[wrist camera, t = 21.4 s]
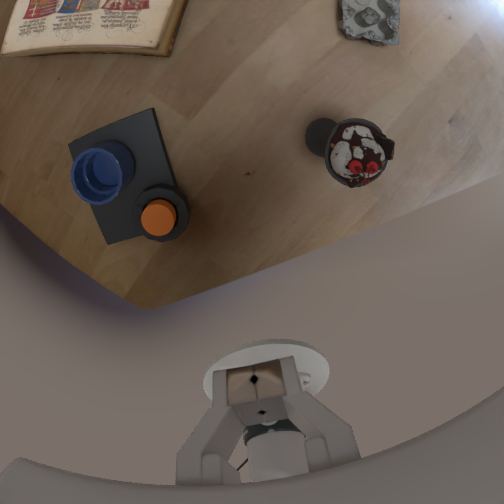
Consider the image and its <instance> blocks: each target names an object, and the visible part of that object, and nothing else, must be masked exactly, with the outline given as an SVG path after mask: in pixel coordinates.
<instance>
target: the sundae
mask: <svg viewBox="0 0 504 504" xmlns="http://www.w3.org/2000/svg"><path fill="white" fill-rule="evenodd" d="M305 138H306V144H307V146H308V148H309V149H310V151H312V152H313V153H314V154H316V155H318V156H322V157H325V164H326V167H327V169H328V171H329V173H330V174H331V175H332V177H333V178H335V179H336V180H337V181H339V182H340V183H342V184H343V185H346V186H349V187H350V188H354V187H361V186H365V185H367V184H369V183H370V182H372V181H373V180H375V179H376V178H378V177H379V175H380V174H381V173H382V172H383V171H384V169H385V167H386V165H387V161H388V160H392V159H393V155H394V145H395V143H394V141H393V140H390V139H388V138H386V136H385V135H384V134H383V133H382V131H381V130H380V129H379V127H378V126H376V125H375V124H374V123H372V122H370V121H368V120H364V119H357V118H354V119H347V120H344V121H342V122H340V123H339V124H337V123H336V122H334V121H333V120H331V119H327V118H322V119H318V120H315V121H314V122H312V123H311V124H310V126H309V127H308V128H307V131H306V135H305Z"/></svg>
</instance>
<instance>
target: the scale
mask: <svg viewBox="0 0 504 504" xmlns="http://www.w3.org/2000/svg"><path fill="white" fill-rule="evenodd" d="M106 141H116V142H118V143H120V144H122V145H124V146H125V147H126V148H127V149H128V150H129V152H130V153H131V155H132V158H133V161H134V174H133V177H132V179H131V181H130V183H129V184H128V185H127V186H126V187H125V188H124V189H123V190H122V191H121V192H120V193H119V194H118V195H117V196H116V197H115V198H114V199H113V200H112V201H111V202H108V203H106V204H103V205H94V204H90V206H91V208H92V210H93V213H94V215H95V217H96V220H97V222H98V224H99V227H100V229H101V231H102V233H103V236H104V238H105V240H106V242H107V244H108V245H109V244H112V243H116V242H119V241H123V240H126V239H130V238H133V237H136V236H140V235H144V236H146V237H147V238H148V239H151V240H155V241H159V242H165V241H169V240H172V239H176V238H177V237H178V236H179V235H180V234H181V233H182V232H183V231H184V230H185V229H186V227H187V223H188V219H189V215H190V207H189V204H188V201H187V197H186V196H185V195H184V194H183V193H182V192H181V191H180V190H178V187H177V184H176V181H175V177H174V174H173V171H172V168H171V165H170V161H169V158H168V155H167V152H166V148H165V145H164V142H163V138H162V135H161V132H160V128H159V125H158V121H157V118H156V114H155V111H154V108H151V109H148V110H145V111H142V112H140V113H137V114H134V115H132V116H129V117H127V118H124V119H122V120H119V121H117V122H114V123H112V124H110V125H107V126H105V127H103V128H101V129H98V130H96V131H94V132H92V133H90V134H87V135H85V136H83V137H81V138H79V139H77V140H75V141H73V142H71V143H69V144H68V146H69V149H70V152H71V155H72V158H73V161H75V159H76V158H77V157H78V156H79V155H80V154H81V153H82V152H83V151H85V150H88V149H90V148H92V147H94V146H96V145H99V144H101V143H103V142H106ZM157 199H162V200H166V201H168V202H169V203H171V204H172V205H173V207H174V208H175V211H176V221H175V223H174V226H173V228H172V230H171V231H170V232H169V233H167V234H166V235H162V236H155V235H152V234H150V233H148V232H147V231H146V230H145V229H144V227H143V225H142V222H141V216H142V213H143V211H144V209H145V208H146V206H147V205H148V204H149V203H150V202H151V201H153V200H157Z"/></svg>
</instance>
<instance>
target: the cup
mask: <svg viewBox="0 0 504 504" xmlns="http://www.w3.org/2000/svg"><path fill="white" fill-rule="evenodd" d="M133 174H134V161H133V158H132V155H131V153H130V152H129V150H128V149H127V148H126V147H125V146H124V145H122V144H120V143H118V142H116V141H106V142H103V143H101V144H99V145H96V146H94V147H92V148H90V149H88V150H85V151H83V152H82V153H81V154H80V155H79V156H78V157H77V158H76V159H75V161H74V164H73V167H72V170H71V181H72V184H73V187H74V189H75V191H76V193H77V194H78V195H79V196H80V198H81V199H82V200H84V201H86V202H88V203H90V204H94V205H103V204H106V203H108V202H111V201H112V200H113V199H114V198H115V197H116V196H117V195H118V194H119V193H120V192H121V191H122V190H123V189H124V188H125V187H126V186H127V185H128V184H129V183H130V181H131V179H132V177H133Z"/></svg>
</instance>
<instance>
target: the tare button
mask: <svg viewBox="0 0 504 504" xmlns="http://www.w3.org/2000/svg"><path fill="white" fill-rule="evenodd" d="M175 221H176V211H175V208H174V207H173V205H172V204H171V203H169V202H168V201H166V200H162V199H157V200H153V201H151V202H150V203H149V204H148V205H147V206H146V208H145V209H144V211H143V213H142V216H141V222H142V225H143V227H144V229H145V230H146V231H147V232H148V233H150V234H152V235H155V236H162V235H166V234H167V233H169V232H170V231H171V230H172V228H173V226H174V223H175Z"/></svg>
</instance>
